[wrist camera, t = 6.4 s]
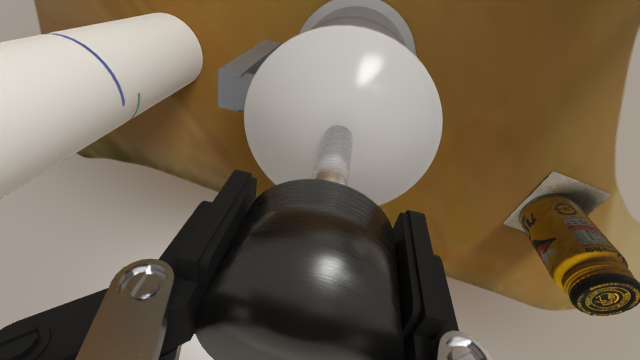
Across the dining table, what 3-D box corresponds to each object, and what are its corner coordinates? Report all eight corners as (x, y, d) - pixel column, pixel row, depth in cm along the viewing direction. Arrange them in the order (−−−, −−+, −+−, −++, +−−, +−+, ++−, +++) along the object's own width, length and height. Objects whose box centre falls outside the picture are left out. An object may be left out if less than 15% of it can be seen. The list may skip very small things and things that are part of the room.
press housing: (434, 10, 27) (494, 48, 14) (392, 128, 34) (405, 233, 20) (282, -24, 27) (195, -21, 14) (270, 100, 34) (203, 185, 20)
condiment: (502, 222, 39) (546, 308, 29) (552, 170, 34) (626, 251, 24) (553, 241, 39) (614, 332, 29) (610, 192, 35) (705, 280, 25)
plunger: (398, 106, 15) (441, 316, 6) (370, 186, 18) (369, 414, 9) (299, 83, 15) (187, 255, 6) (287, 166, 18) (198, 372, 9)
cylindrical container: (197, 15, 30) (-177, 109, 10) (207, 88, 34) (-41, 264, 14) (127, 9, 31) (-365, 85, 10) (146, 81, 35) (-181, 240, 14)
